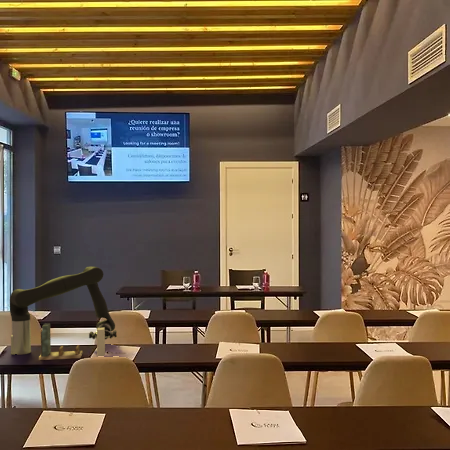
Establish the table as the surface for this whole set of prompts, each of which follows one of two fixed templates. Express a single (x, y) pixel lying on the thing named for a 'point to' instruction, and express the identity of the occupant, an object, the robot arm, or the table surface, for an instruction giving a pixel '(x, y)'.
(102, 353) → the cream book
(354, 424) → the table surface
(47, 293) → the robot arm
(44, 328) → the book rack
